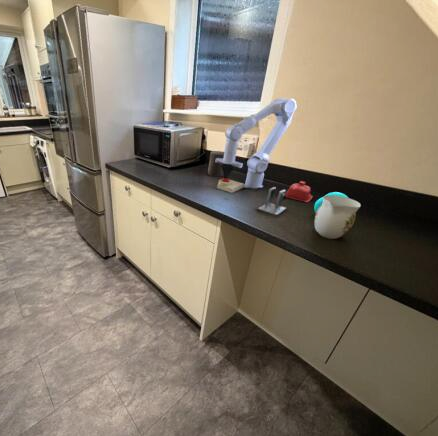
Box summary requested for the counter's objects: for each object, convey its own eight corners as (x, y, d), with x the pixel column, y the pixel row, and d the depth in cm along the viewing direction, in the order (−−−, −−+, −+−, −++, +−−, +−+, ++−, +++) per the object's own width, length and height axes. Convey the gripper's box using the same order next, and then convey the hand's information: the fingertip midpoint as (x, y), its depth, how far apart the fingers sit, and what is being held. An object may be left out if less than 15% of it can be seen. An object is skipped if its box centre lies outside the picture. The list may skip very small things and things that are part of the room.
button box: (227, 182, 133) (229, 176, 131) (243, 187, 127) (245, 180, 125) (215, 187, 126) (216, 180, 124) (231, 193, 120) (232, 185, 118)
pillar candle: (217, 178, 141) (221, 153, 134) (204, 174, 148) (207, 150, 141) (226, 175, 146) (230, 150, 139) (213, 171, 153) (217, 148, 146)
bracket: (267, 204, 108) (273, 184, 103) (285, 210, 102) (292, 189, 98) (257, 210, 102) (262, 189, 97) (275, 217, 97) (282, 195, 92)
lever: (277, 199, 107) (280, 193, 107) (284, 201, 105) (288, 195, 105) (270, 195, 99) (273, 188, 98) (277, 197, 97) (281, 190, 96)
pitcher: (353, 231, 87) (371, 197, 80) (336, 248, 77) (354, 211, 71) (320, 220, 95) (334, 188, 88) (301, 234, 85) (314, 199, 78)
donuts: (309, 215, 98) (317, 193, 93) (318, 209, 104) (327, 188, 99) (337, 225, 91) (347, 202, 86) (345, 218, 97) (356, 195, 92)
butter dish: (312, 197, 115) (319, 181, 111) (307, 204, 108) (313, 187, 104) (287, 191, 122) (292, 176, 118) (280, 198, 115) (285, 181, 111)
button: (224, 180, 126) (224, 177, 126) (229, 181, 124) (230, 178, 123) (220, 181, 124) (220, 178, 124) (226, 183, 122) (226, 180, 121)
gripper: (213, 150, 119) (209, 176, 126) (239, 156, 110) (234, 183, 116) (221, 149, 123) (217, 173, 130) (246, 153, 114) (241, 180, 120)
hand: (225, 178), depth 123 cm, fingers closed
